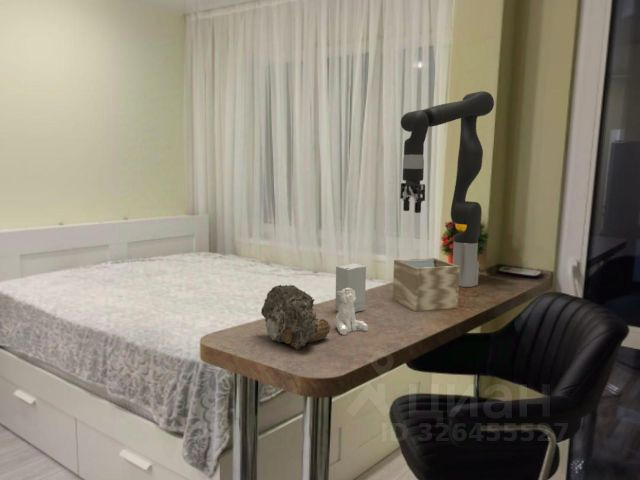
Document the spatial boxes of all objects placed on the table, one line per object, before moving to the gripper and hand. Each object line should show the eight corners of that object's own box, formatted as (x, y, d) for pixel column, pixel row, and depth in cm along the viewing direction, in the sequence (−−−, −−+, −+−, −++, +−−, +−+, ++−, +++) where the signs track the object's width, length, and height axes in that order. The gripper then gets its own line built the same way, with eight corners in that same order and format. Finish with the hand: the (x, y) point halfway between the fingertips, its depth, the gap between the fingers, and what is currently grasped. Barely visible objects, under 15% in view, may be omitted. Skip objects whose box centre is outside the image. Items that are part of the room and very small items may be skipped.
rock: (262, 280, 133) (312, 264, 140) (253, 310, 143) (300, 294, 151) (296, 340, 124) (347, 320, 132) (283, 367, 135) (331, 348, 142)
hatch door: (432, 259, 186) (434, 258, 185) (441, 294, 181) (442, 293, 180) (399, 261, 182) (400, 260, 181) (406, 297, 177) (408, 296, 176)
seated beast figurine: (341, 336, 143) (342, 293, 141) (324, 327, 150) (325, 287, 148) (369, 331, 148) (370, 289, 146) (351, 323, 155) (352, 283, 153)
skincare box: (353, 306, 173) (354, 262, 171) (366, 310, 169) (367, 265, 167) (334, 310, 168) (334, 265, 166) (346, 315, 163) (347, 268, 161)
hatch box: (432, 296, 189) (434, 258, 187) (457, 307, 174) (459, 266, 172) (392, 299, 184) (394, 260, 182) (414, 311, 169) (416, 268, 167)
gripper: (432, 167, 186) (430, 213, 188) (412, 167, 199) (411, 210, 201) (413, 167, 183) (412, 213, 186) (395, 167, 197) (393, 210, 199)
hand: (411, 211), depth 193 cm, fingers open, 8 cm apart
